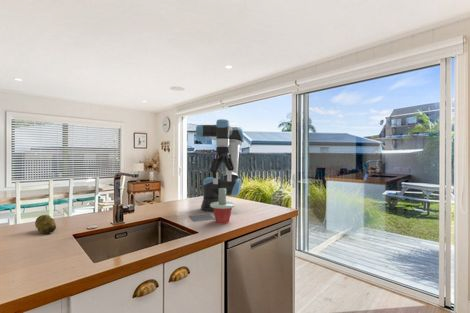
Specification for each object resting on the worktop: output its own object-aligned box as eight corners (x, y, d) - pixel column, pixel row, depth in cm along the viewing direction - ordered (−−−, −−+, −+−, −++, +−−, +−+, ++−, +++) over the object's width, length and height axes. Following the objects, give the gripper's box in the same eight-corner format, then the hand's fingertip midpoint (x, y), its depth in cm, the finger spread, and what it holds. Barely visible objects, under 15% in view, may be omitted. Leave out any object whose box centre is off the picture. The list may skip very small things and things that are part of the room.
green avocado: (35, 236, 120) (35, 220, 120) (35, 230, 130) (34, 214, 130) (56, 233, 126) (56, 217, 125) (54, 227, 136) (54, 212, 135)
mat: (188, 216, 160) (188, 215, 160) (209, 214, 165) (209, 213, 165) (193, 222, 147) (193, 221, 147) (215, 220, 152) (215, 219, 152)
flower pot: (229, 225, 141) (229, 208, 141) (210, 224, 143) (210, 207, 143) (233, 220, 151) (233, 204, 151) (216, 219, 153) (216, 203, 153)
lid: (207, 204, 151) (207, 187, 151) (229, 202, 156) (229, 186, 156) (214, 209, 138) (214, 191, 137) (237, 207, 143) (237, 189, 142)
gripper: (229, 146, 158) (229, 179, 159) (203, 146, 138) (203, 184, 138) (239, 146, 154) (239, 180, 155) (214, 146, 133) (214, 185, 134)
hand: (222, 182), depth 147 cm, fingers open, 13 cm apart
